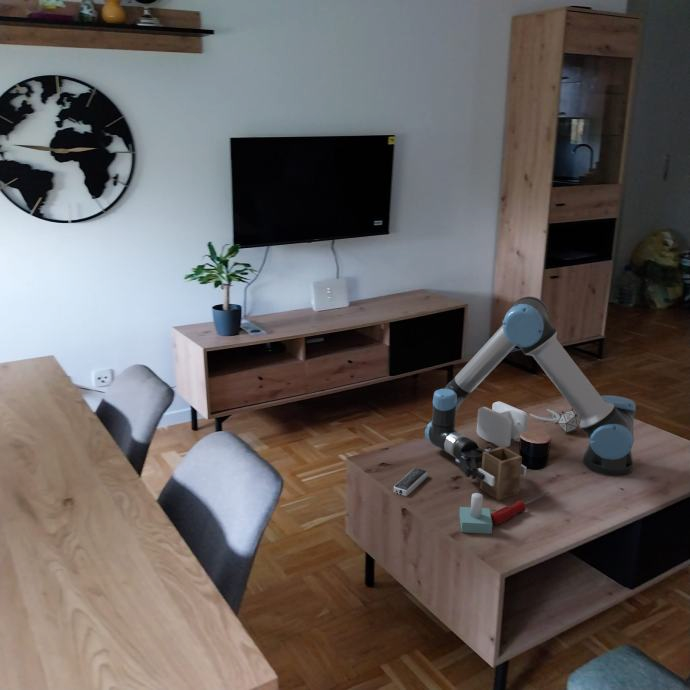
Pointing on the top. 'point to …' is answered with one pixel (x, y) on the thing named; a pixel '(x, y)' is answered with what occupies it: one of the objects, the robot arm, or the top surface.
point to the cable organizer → (501, 424)
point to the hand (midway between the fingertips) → (509, 476)
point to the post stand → (475, 517)
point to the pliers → (548, 417)
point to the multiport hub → (410, 481)
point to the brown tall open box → (501, 472)
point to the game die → (569, 421)
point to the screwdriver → (510, 511)
